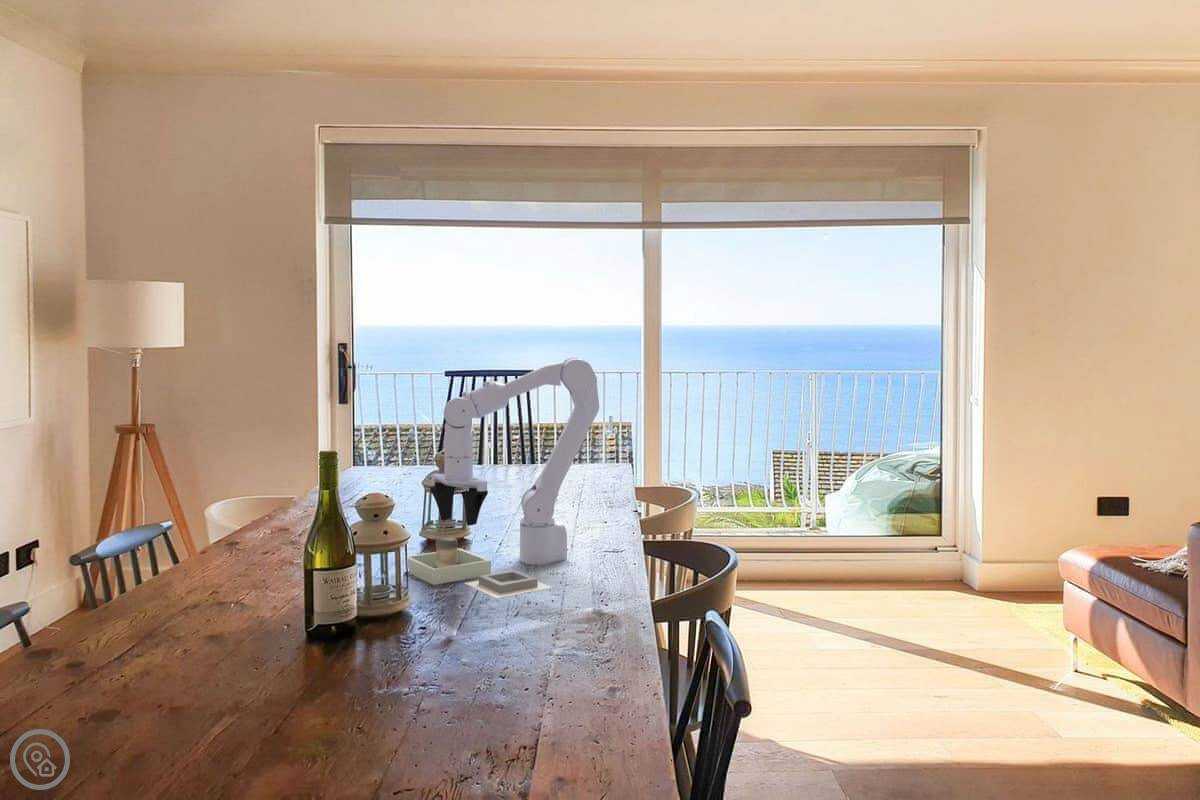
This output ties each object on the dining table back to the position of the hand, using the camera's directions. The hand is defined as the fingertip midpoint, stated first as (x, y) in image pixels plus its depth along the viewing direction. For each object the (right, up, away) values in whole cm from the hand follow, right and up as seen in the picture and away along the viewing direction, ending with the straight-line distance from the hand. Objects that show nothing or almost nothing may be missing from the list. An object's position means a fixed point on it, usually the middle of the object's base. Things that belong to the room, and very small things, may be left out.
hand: (458, 522), depth 191 cm
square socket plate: (+12, -11, -17) cm, 23 cm away
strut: (-1, -9, -8) cm, 12 cm away
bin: (-1, -10, -8) cm, 13 cm away
